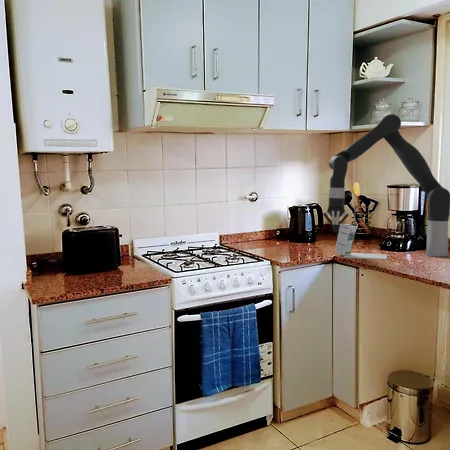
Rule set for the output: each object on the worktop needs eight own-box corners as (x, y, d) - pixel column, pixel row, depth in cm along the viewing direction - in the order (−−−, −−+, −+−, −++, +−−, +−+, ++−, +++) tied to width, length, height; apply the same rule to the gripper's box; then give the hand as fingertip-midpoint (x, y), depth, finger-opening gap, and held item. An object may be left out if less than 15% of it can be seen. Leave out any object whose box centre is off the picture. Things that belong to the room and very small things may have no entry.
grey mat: (386, 255, 232) (386, 254, 232) (387, 259, 221) (387, 258, 221) (345, 253, 238) (345, 252, 238) (343, 257, 227) (343, 256, 227)
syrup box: (343, 255, 229) (350, 227, 225) (334, 251, 233) (340, 223, 229) (350, 254, 232) (357, 226, 229) (341, 250, 237) (347, 223, 233)
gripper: (351, 197, 232) (349, 232, 234) (323, 196, 236) (322, 230, 238) (350, 197, 225) (348, 233, 227) (322, 196, 229) (320, 232, 231)
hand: (335, 232), depth 232 cm, fingers closed
